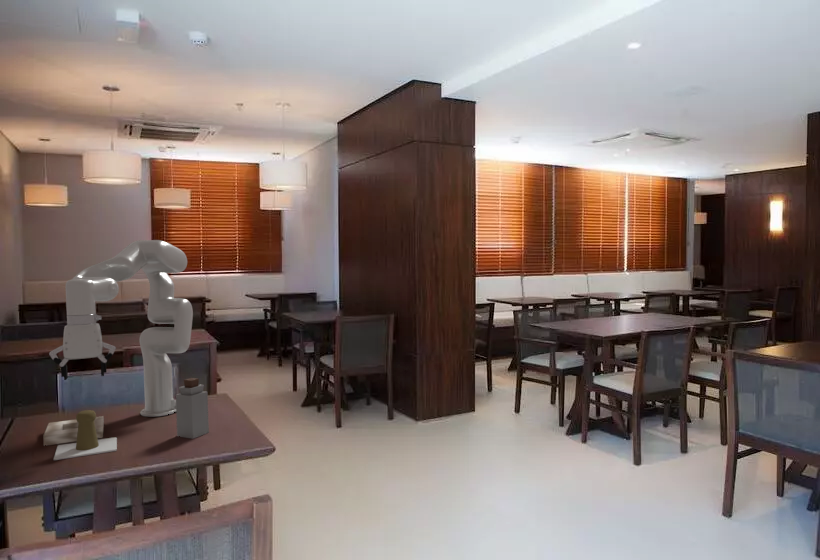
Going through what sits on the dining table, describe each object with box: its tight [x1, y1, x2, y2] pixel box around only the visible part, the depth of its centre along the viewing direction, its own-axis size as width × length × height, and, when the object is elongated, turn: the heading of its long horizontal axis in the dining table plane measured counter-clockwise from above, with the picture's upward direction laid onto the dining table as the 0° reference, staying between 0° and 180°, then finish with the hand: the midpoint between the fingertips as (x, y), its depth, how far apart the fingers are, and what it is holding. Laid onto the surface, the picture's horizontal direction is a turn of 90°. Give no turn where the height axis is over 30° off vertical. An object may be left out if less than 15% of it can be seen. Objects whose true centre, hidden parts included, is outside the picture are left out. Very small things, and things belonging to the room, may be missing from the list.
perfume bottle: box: [175, 377, 210, 440], centre depth 185 cm, size 7×7×18 cm
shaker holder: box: [42, 415, 105, 447], centre depth 187 cm, size 16×16×3 cm
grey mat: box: [53, 437, 118, 461], centre depth 172 cm, size 16×13×1 cm
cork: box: [75, 409, 99, 450], centre depth 172 cm, size 6×6×11 cm
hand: (84, 377), depth 172 cm, fingers open, 9 cm apart
